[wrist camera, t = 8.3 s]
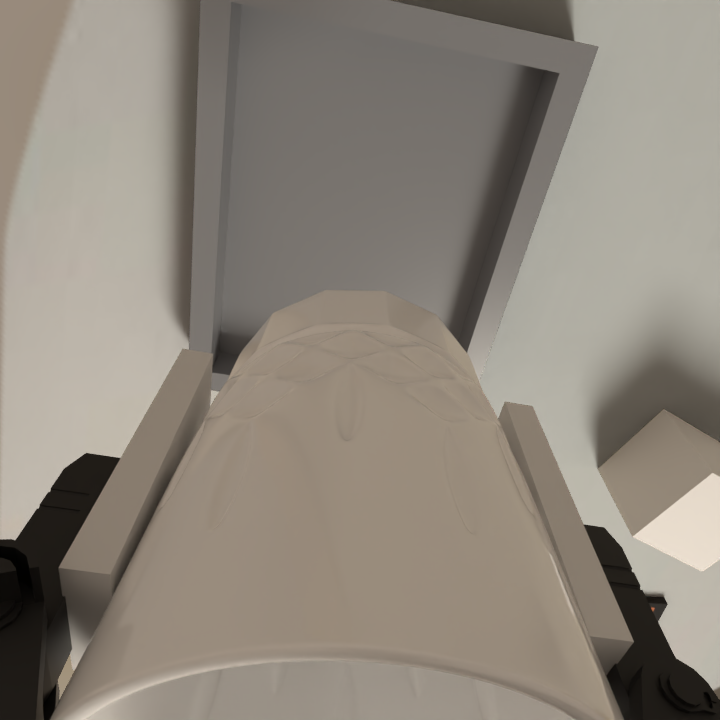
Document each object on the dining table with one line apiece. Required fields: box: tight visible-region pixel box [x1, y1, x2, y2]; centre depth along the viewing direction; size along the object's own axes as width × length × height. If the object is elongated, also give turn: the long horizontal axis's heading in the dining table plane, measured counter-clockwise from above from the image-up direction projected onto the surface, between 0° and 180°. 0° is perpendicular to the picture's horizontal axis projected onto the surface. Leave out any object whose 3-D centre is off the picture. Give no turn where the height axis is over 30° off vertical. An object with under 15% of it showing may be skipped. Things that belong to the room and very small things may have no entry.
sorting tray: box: [189, 0, 598, 391], centre depth 28 cm, size 20×16×3 cm
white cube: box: [598, 409, 720, 572], centre depth 35 cm, size 6×6×6 cm
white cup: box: [50, 290, 624, 720], centre depth 12 cm, size 8×8×10 cm
